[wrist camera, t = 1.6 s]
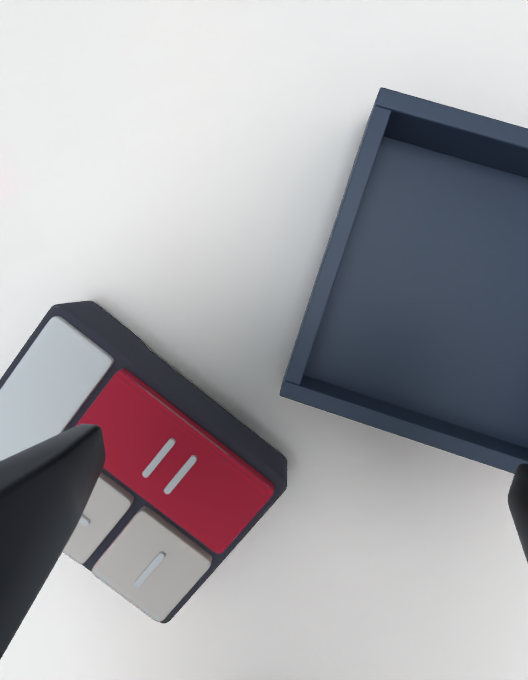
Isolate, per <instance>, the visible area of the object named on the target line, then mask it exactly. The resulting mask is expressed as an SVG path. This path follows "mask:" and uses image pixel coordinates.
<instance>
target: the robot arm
mask: <svg viewBox="0 0 528 680" xmlns="http://www.w3.org/2000/svg"><path fill="white" fill-rule="evenodd" d="M105 458H106V454H105V447H104V440H103V433H102V429H101V427H100V426H99V425H94V424H79V425H77V426H75V427H73V428H71V429H69V430H66V431H64V432H62V433H60V434H58V435H56V436H53V437H51V438H49V439H47V440H45V441H43V442H40V443H38V444H36V445H34V446H32V447H30V448H27V449H25V450H23V451H21V452H19V453H17V454H14V455H12V456H10V457H8V458H6V459H4V460H1V461H0V659H1V657H2V656H3V654H4V652H5V650H6V649H7V647H8V645H9V644H10V642H11V640H12V638H13V637H14V635H15V633H16V631H17V630H18V628H19V626H20V624H21V623H22V621H23V619H24V617H25V616H26V614H27V612H28V610H29V609H30V607H31V605H32V604H33V602H34V600H35V598H36V597H37V595H38V593H39V591H40V590H41V588H42V586H43V584H44V583H45V581H46V579H47V577H48V576H49V574H50V572H51V570H52V569H53V567H54V565H55V564H56V562H57V560H58V558H59V557H60V555H61V553H62V551H63V550H64V548H65V546H66V544H67V543H68V541H69V539H70V537H71V536H72V534H73V532H74V530H75V528H76V526H77V524H78V522H79V520H80V518H81V516H82V514H83V512H84V509H85V507H86V505H87V503H88V500H89V498H90V496H91V494H92V491H93V489H94V487H95V485H96V482H97V480H98V478H99V476H100V473H101V471H102V469H103V466H104V463H105ZM508 505H509V508H510V511H511V514H512V517H513V520H514V523H515V526H516V529H517V532H518V535H519V538H520V541H521V544H522V547H523V550H524V553H525V556H526V559H527V562H528V464H525V463H522V464H520V465H519V466H518V467H517V469H516V472H515V475H514V478H513V481H512V484H511V487H510V490H509V494H508Z"/></svg>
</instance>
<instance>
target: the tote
mask: <svg viewBox="0 0 528 680" xmlns="http://www.w3.org/2000/svg"><path fill="white" fill-rule="evenodd" d="M280 396H283V397H286V398H289V399H292V400H295V401H298V402H301V403H304V404H307V405H310V406H313V407H316V408H319V409H322V410H325V411H328V412H331V413H334V414H337V415H340V416H343V417H346V418H349V419H352V420H355V421H358V422H361V423H364V424H367V425H370V426H373V427H376V428H379V429H382V430H385V431H388V432H391V433H394V434H397V435H400V436H403V437H406V438H409V439H412V440H415V441H418V442H421V443H424V444H427V445H430V446H433V447H436V448H439V449H442V450H445V451H448V452H451V453H454V454H457V455H460V456H463V457H466V458H469V459H472V460H475V461H478V462H481V463H484V464H487V465H490V466H493V467H496V468H499V469H502V470H505V471H508V472H511V473H514V474H515V472H516V469H517V467H518V466H519V465H520V464H522V463H525V464H528V129H527V128H523V127H520V126H516V125H513V124H509V123H506V122H502V121H499V120H495V119H492V118H488V117H485V116H481V115H478V114H474V113H471V112H467V111H463V110H460V109H456V108H453V107H449V106H446V105H442V104H439V103H435V102H432V101H428V100H425V99H421V98H418V97H414V96H411V95H407V94H403V93H400V92H396V91H393V90H389V89H386V88H380V90H379V92H378V95H377V98H376V101H375V103H374V106H373V109H372V111H371V114H370V117H369V120H368V123H367V126H366V129H365V132H364V135H363V138H362V141H361V144H360V147H359V150H358V153H357V156H356V159H355V162H354V165H353V168H352V171H351V174H350V177H349V180H348V183H347V187H346V190H345V193H344V196H343V199H342V202H341V205H340V208H339V211H338V214H337V217H336V220H335V223H334V226H333V229H332V232H331V235H330V238H329V241H328V244H327V247H326V251H325V254H324V257H323V260H322V263H321V266H320V269H319V272H318V275H317V278H316V281H315V284H314V287H313V290H312V293H311V296H310V299H309V302H308V305H307V308H306V311H305V315H304V318H303V321H302V324H301V327H300V330H299V333H298V336H297V339H296V342H295V345H294V348H293V351H292V354H291V357H290V360H289V363H288V366H287V369H286V372H285V375H284V378H283V382H282V386H281V390H280Z"/></svg>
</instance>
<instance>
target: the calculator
mask: <svg viewBox="0 0 528 680" xmlns="http://www.w3.org/2000/svg"><path fill="white" fill-rule="evenodd" d="M79 424H94V425H99V426H100V427H101V429H102V433H103V440H104V447H105V454H106V458H105V463H104V466H103V469H102V471H101V473H100V476H99V478H98V480H97V482H96V485H95V487H94V489H93V491H92V494H91V496H90V498H89V500H88V503H87V505H86V507H85V509H84V512H83V514H82V516H81V518H80V520H79V522H78V524H77V526H76V528H75V530H74V532H73V534H72V536H71V537H70V539H69V541H68V543H67V544H66V546H65V548H64V550H63V551H62V552H64V553H65V554H66V555H68V556H69V557H70V558H72V559H73V560H74V561H76V562H78V563H80V564H82V565H83V566H85V567H86V568H87V569H89V570H90V571H91V572H92V573H93V574H94V575H95V576H96V577H97V578H98V579H100V580H101V581H102V582H104V583H105V584H106V585H108V586H109V587H110V588H112V589H113V590H115V591H116V592H117V593H119V594H120V595H121V596H123V597H124V598H125V599H127V600H128V601H129V602H131V603H132V604H133V605H135V606H136V607H137V608H139V609H140V610H141V611H143V612H144V613H145V614H147V615H148V616H149V617H151V618H152V619H153V620H155V621H157V622H160V623H167V622H169V621H170V620H171V619H172V618H173V617H174V615H175V614H176V613H177V612H178V611H179V610H180V609H181V608H182V606H183V605H184V604H185V603H186V602H187V601H188V600H189V599H190V597H191V596H192V595H193V594H194V593H195V592H196V591H197V589H198V588H199V587H200V586H201V585H202V584H203V583H204V582H205V580H206V579H207V578H208V577H209V576H210V575H211V574H212V573H213V571H214V570H215V569H216V568H217V567H218V566H219V565H220V563H221V562H222V561H223V560H224V559H225V558H226V557H227V556H228V554H229V553H230V552H231V551H232V550H233V549H234V548H235V547H236V545H237V544H238V543H239V542H240V541H241V540H242V539H243V538H244V536H245V535H246V534H247V533H248V532H249V531H250V530H251V528H252V527H253V526H254V525H255V524H256V523H257V522H258V521H259V519H260V518H261V517H262V516H263V515H264V514H265V513H266V512H267V510H268V509H269V508H270V507H271V506H272V505H273V504H274V502H275V501H276V500H277V499H278V498H279V497H280V496H281V495H282V493H283V492H284V491H285V490H286V487H287V460H286V458H285V457H284V456H283V455H282V454H280V453H279V452H278V451H277V450H275V449H274V448H273V447H271V446H270V445H269V444H268V443H266V442H265V441H264V440H263V439H261V438H260V437H259V436H257V435H256V434H255V433H254V432H252V431H251V430H250V429H249V428H247V427H246V426H245V425H243V424H242V423H241V422H240V421H238V420H237V419H236V418H235V417H233V416H232V415H231V414H229V413H228V412H227V411H226V410H224V409H223V408H222V407H221V406H219V405H218V404H217V403H216V402H214V401H213V400H212V399H210V398H209V397H208V396H207V395H205V394H204V393H203V392H202V391H200V390H199V389H198V388H196V387H195V386H194V385H193V384H191V383H190V382H189V381H188V380H186V379H185V378H184V377H182V376H181V375H180V374H179V373H177V372H176V371H175V370H174V369H172V368H171V367H170V366H168V365H167V364H166V363H165V362H163V361H162V360H161V359H160V358H158V357H157V356H156V355H154V354H153V353H152V352H151V351H149V350H148V349H147V347H146V346H145V345H144V344H143V342H142V341H141V340H140V339H139V338H138V337H137V336H136V335H135V334H133V333H132V332H131V331H130V330H128V329H127V328H126V327H125V326H123V325H122V324H121V323H119V322H118V321H117V320H116V319H114V318H113V317H112V316H111V315H109V314H108V313H107V312H105V311H104V310H103V309H102V308H100V307H99V306H98V305H96V304H95V303H94V302H92V301H82V302H73V303H64V304H56V305H54V306H52V307H51V308H50V310H49V311H48V312H47V314H46V315H45V317H44V318H43V320H42V321H41V322H40V324H39V325H38V327H37V328H36V329H35V331H34V332H33V334H32V335H31V337H30V338H29V339H28V341H27V342H26V344H25V345H24V347H23V348H22V349H21V351H20V352H19V354H18V355H17V357H16V358H15V359H14V361H13V362H12V364H11V365H10V367H9V368H8V369H7V371H6V372H5V374H4V375H3V376H2V378H1V379H0V461H1V460H4V459H6V458H8V457H10V456H12V455H14V454H17V453H19V452H21V451H23V450H25V449H27V448H30V447H32V446H34V445H36V444H38V443H40V442H43V441H45V440H47V439H49V438H51V437H53V436H56V435H58V434H60V433H62V432H64V431H66V430H69V429H71V428H73V427H75V426H77V425H79Z"/></svg>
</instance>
